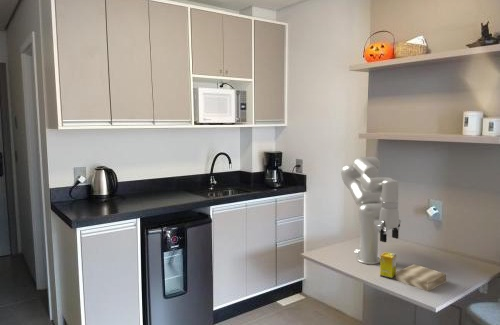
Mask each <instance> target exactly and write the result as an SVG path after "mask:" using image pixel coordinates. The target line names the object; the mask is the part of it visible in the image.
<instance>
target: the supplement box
mask: <svg viewBox="0 0 500 325" xmlns="http://www.w3.org/2000/svg"><path fill="white" fill-rule="evenodd" d="M380 259H381V261H380V263H379V264H380V266H379V267H380V269H379V272H380V273H379V274H380V276H379V277H381V278H385V279H389V280H393V279H394V277H395V278H396V272H397V253H391V252H385V251H384V252H383V253H382V254H381V255H380Z"/></svg>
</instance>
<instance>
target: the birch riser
mask: <svg viewBox="0 0 500 325" xmlns="http://www.w3.org/2000/svg"><path fill="white" fill-rule="evenodd" d="M395 280H396V281H398V282H400V283H401V282H402V283H404V284H406V285H408V286H412V287H415V288H417V289H421V290H424V291H426V292H430V291H432V290H435V289H436V288H437V287H440V286H442V285H443V284H446V283H447V273H445V272H441V271H437V270H434V269H431V268H428V267H426V266H425V267H424V266H422V265H418V264H411V265H409V266H407V267H405V268H402V269H399V270H398V271H397V270H396V276H395ZM431 289H432V290H431Z"/></svg>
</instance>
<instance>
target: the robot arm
mask: <svg viewBox="0 0 500 325" xmlns="http://www.w3.org/2000/svg"><path fill="white" fill-rule="evenodd" d="M380 169H381V161H380V159H378V158H377V157H376V156H367V157H366V156H364V157H363V156H362V157H357V158H356V159H354V161H353V163H352V164H346V165H344V166H343V167H342V168H341V171H340V172H341V173H340V175H341V180H342V181H343V185H345V187H346V188H347V189H348V190H349V192H350V194H351V196H352V198H353V200H354V202H355V204H356V205H357V206H358V211H357V212H358V213H357V214H358V217H359V218H358V219H359V249H358V248H356V249H355V250H354V254H356V255H357V256H356V262H359V263H361V264H365V265H377V264H380V261H381V257H379V255H378V254H379V240H380V242H382V243H387V237H388V236H387V231H388V230H391V237H392V238H393V239H399V233H400V232H399V231H400V227H401V222H402V220H401V219H400V216H399V181H398V180H396V179H393V178H391V177H389V176H387V177H386V176H385V177H378V173H379V171H380ZM375 222H378V225H376V224H375Z"/></svg>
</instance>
